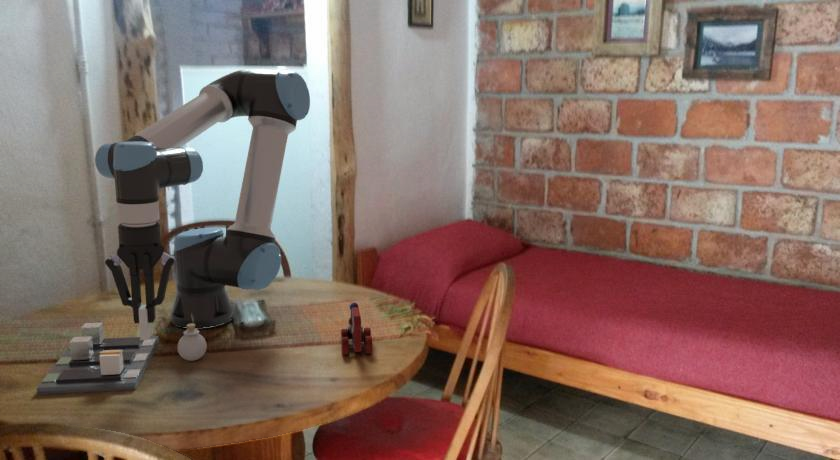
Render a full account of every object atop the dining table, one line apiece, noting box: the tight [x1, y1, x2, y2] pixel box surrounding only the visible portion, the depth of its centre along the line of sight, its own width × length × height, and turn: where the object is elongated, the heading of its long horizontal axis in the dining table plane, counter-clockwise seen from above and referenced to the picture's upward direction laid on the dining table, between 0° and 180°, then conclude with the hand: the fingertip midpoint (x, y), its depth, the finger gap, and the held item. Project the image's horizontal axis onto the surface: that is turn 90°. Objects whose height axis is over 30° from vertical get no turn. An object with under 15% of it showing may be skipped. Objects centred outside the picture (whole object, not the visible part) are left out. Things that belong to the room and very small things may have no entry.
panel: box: [36, 322, 160, 396], centre depth 143 cm, size 18×24×6 cm
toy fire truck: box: [340, 302, 374, 356], centre depth 155 cm, size 7×12×10 cm, turn 8°
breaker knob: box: [99, 350, 124, 375], centre depth 136 cm, size 4×3×4 cm
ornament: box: [177, 316, 208, 362], centre depth 148 cm, size 6×7×10 cm
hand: (145, 337), depth 136 cm, fingers closed
